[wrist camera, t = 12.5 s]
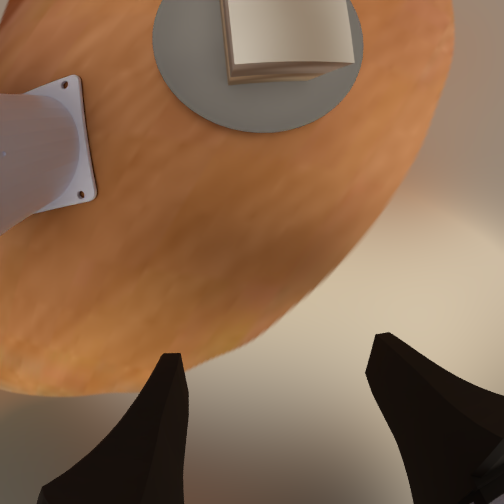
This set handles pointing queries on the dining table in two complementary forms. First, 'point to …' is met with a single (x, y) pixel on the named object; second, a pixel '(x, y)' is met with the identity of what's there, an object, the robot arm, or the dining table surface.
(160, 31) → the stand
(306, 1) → the block
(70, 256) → the dining table surface
